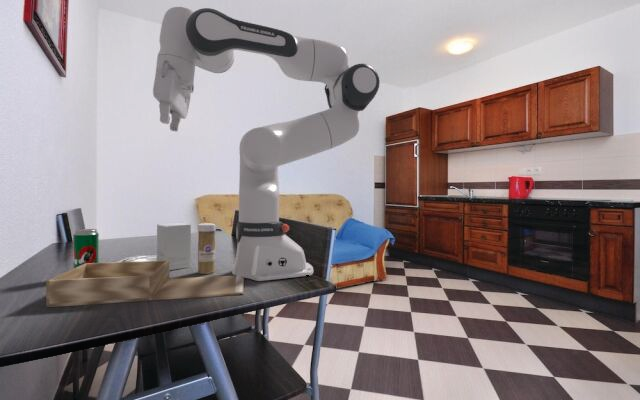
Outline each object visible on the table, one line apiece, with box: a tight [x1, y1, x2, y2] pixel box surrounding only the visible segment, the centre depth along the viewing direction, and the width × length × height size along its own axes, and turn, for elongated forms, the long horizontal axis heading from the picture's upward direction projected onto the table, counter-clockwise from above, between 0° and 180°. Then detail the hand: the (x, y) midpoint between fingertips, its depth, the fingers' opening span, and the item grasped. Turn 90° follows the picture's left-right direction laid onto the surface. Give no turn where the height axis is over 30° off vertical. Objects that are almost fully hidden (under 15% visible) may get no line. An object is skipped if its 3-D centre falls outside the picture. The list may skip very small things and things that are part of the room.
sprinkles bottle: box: [197, 222, 217, 275], centre depth 81 cm, size 5×5×13 cm
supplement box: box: [156, 222, 192, 271], centre depth 86 cm, size 7×7×13 cm
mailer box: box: [45, 260, 245, 308], centre depth 67 cm, size 36×14×5 cm, turn 104°
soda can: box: [72, 228, 100, 269], centre depth 75 cm, size 5×5×12 cm
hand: (169, 127), depth 76 cm, fingers open, 8 cm apart
